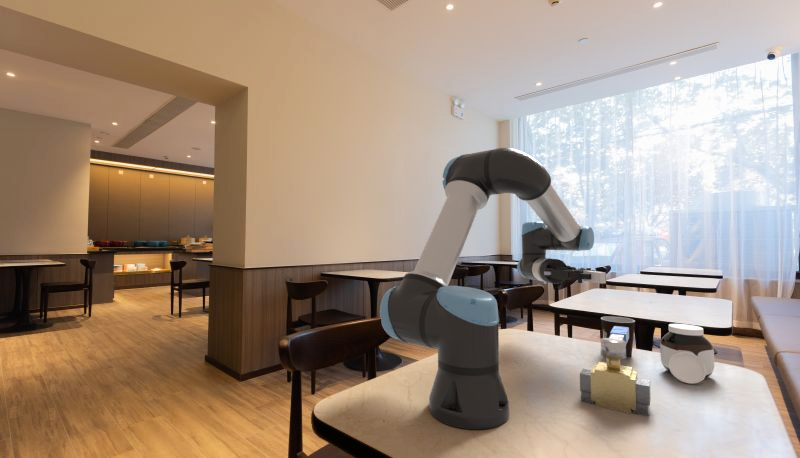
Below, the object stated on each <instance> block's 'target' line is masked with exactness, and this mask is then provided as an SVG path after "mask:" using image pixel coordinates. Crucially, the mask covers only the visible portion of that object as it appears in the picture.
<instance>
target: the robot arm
mask: <svg viewBox="0 0 800 458" xmlns="http://www.w3.org/2000/svg"><path fill="white" fill-rule="evenodd" d="M442 178H443V180H442V185H443V190H444V193H445V197H446V199H445V201H444V203H443V206H442V207H441V211H440V212H439V215H438V217H437V219H436V221H435V223H434V226H433V228H432V231H431V232H430V235H429V237H428V239H427V241H426V244H425V246H424V248H423V249H422V252H421V255H420V256H419V259H418V260H417V263H416V265H415V268H414V269H413V270H412V271H409V272H407V273H405V274H404V276H403V278H402V281H401V283H400V285H398V286H393V287H391V288H389V289H388V290H387V291H385V293H384V294H383V296H382V298H381V300H380V301H381V302H380V305H379V317H380V319H381V326H382V328H383V329H384V331H385V333H386V334H387V335H388V336H389V337H391V338H393V339H396V340H399V341H400V342H402V343H405V344H408V343H410V344H413V345H418V346H422V347H426V348H429V349H433V350H437V371H436V374H435V378H434V381H433V385H432V388H431V391H430V394H429V405H428V406H429V407H428V409H429V413H430V414H431V416H432V417H434V418H435V419H436V420H438V421H439V422H441V423H442V424H445V425H448V426H450V427H454V428H459V429H466V430H485V429H487V430H488V429H491V428H496V427H499V426H501V425H503V424H504V423H505V422H506V421H507V420H508V419H509V417H510V404H509V403H510V402H509V399H508V395H507V393H506V390H505V387H504V383H503V381H502V377H501V374H500V366H499V365H500V363H499V361H500V360H499V355H500V353H499V345H500V343H499V341H500V339H499V322H500V316H499V309H498V302H497V301H498V300H497V299H496V297H495V296H494V295H493V294H491V293H490V292H488V291H487V290H482V289H479V288H475V287H470V286H459V285H449V284H450V282H451V279H452V276H453V274H454V271H455V268H456V267H457V263H458V261H459V258H460V256H461V253H462V251H463V248H464V246H465V243H466V241H467V239H468V236H469V234H470V230H471V228H472V226H473V223H474V221H475V218H476V215H477V212H478V211H479V210H482V209H484V208H485V207H486V206H487V204H488V201H489V199H490V196H493V195H502V194H503V195H504V194H513V195H515V196H516V198H518V199H520V200H522V201H524V202H526V203H527V204H528V205H529V206H530V208H531V209H532V210H533V212H534V213H535V214H536V215H537V216H538V217H539V219H540V220H541V221H526V222H524V223H522V225H521V236H520V237H521V248H522V249H521V251H522V255H521V258H520V259H519V261H518V262H517V265H516V270H517V272H518V274H519V275H520V276H521V277H523V278H525V279H528V280H533V281H538V282H543V284H545V285H546V284H547V283H548V284H553V285H559V284H562V283H564V282H565V280H567V281H573V282H574V281H577V283H578V284H583V282H589V283H595V284H607V283H606V280H607V276H606V272H605V271H604V272H603V271H597V270H595V269H592V268H591V267H585V268H584V267H579V268H576V267H574V266H570V265H567V264H566V263H565V262H564V261H563V260H561V259H558V258H547V256H546V255H547V251H578V252H580V251H581V252H582V251H590V250H591V249H592V248H594V244H595V234H594V233H595V232H594V230H593V228H592V227H591V226H589V225H588V226H587V225H586V226H585V225H580V224H579V223H578V221H577V220H576V219H575V218H574V216H573V215H572V212H570V210H569V208H567V207H568V206H566V205H565V203H564V202H563V200H562V199H561V197H560V195H559V194H558V192H557V191H556V189H555V188H554V186H553V185H552V177H551V174H550V173H549V172H548V170H547V169H546V167H545V166H544V165H543V164H541V162H540V161H538V160H537V159H536V158H534V157H532V156H531V155H530V154H527V153H526V152H523V151H522V150H519V149H517V148H512V147H498V148H495V149H489V150H484V151H478V152H473V153H472V152H471V153H466V154H461V155H459V156H455V157H454V158H452V159H450V160H449V161H448V162H447V163H446V165H445V167H444V169H443V172H442Z"/></svg>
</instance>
